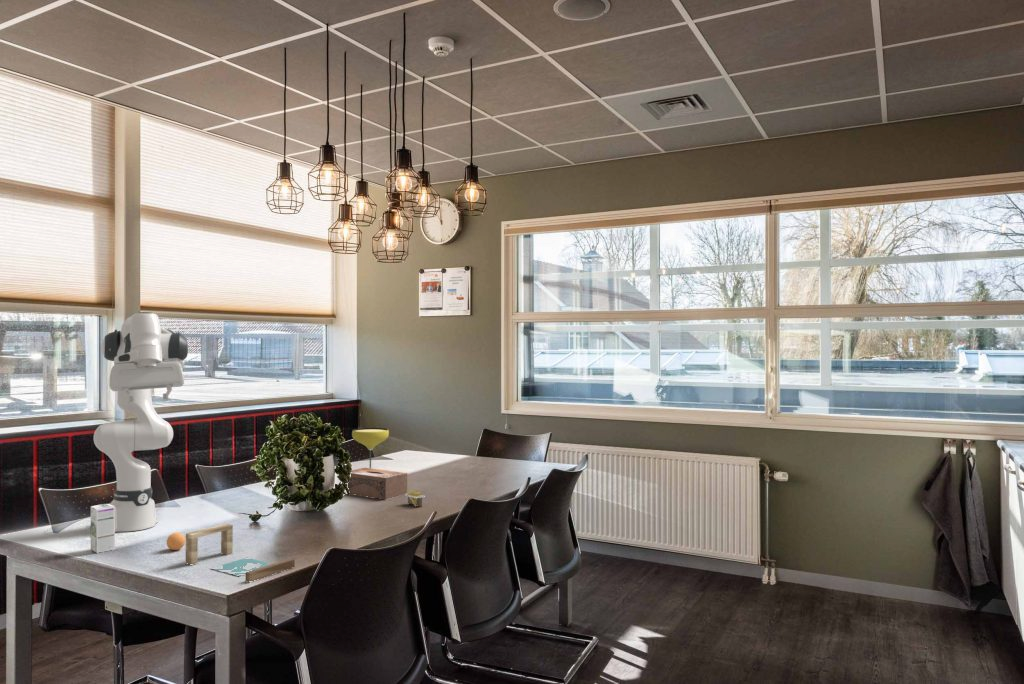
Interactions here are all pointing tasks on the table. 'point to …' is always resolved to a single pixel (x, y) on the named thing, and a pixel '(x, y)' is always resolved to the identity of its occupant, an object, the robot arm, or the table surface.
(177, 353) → the robot arm
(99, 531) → the syrup box
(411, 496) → the plastic food container
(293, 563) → the stopper wall
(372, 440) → the cocktail glass
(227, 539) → the bridge
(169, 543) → the ball
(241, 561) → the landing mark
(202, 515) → the table surface
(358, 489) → the tissue box cover
